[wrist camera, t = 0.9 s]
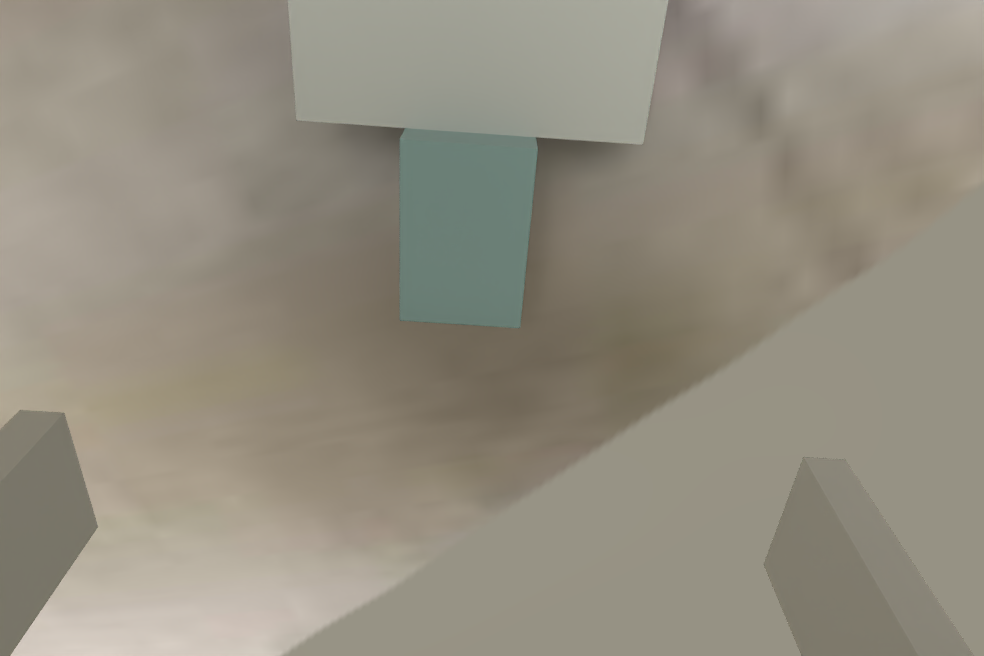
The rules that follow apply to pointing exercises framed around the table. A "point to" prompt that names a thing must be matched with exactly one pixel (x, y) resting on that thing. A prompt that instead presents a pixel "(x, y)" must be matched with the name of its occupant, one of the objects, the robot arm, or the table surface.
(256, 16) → the table surface
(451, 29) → the lid
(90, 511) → the robot arm
